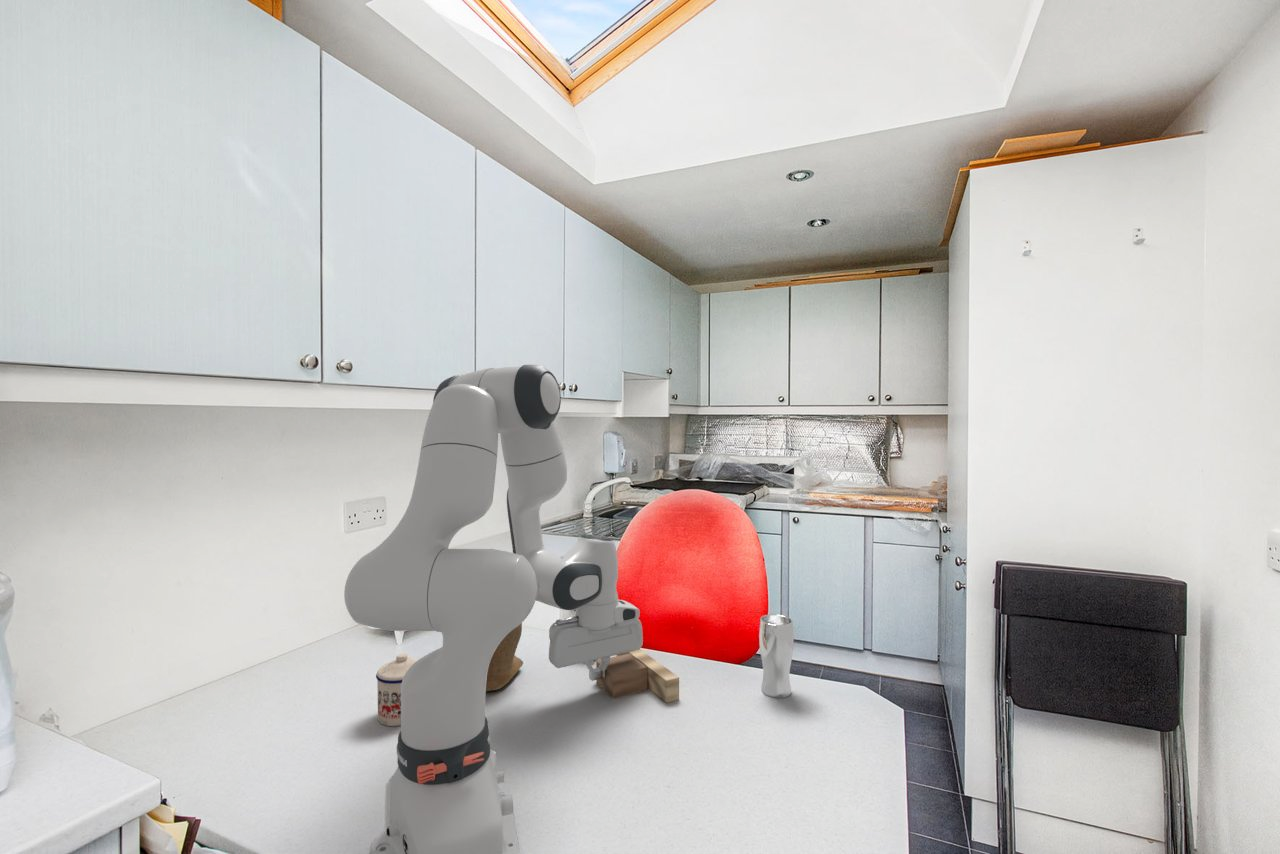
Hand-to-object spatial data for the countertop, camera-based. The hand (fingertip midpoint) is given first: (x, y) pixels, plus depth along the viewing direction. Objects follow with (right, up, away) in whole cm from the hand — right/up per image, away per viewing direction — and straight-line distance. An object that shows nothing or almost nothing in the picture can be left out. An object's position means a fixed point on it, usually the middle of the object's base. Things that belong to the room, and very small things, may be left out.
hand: (597, 678), depth 121 cm
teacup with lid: (-35, -3, -10) cm, 37 cm away
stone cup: (-22, -3, +6) cm, 23 cm away
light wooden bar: (+10, -3, +5) cm, 12 cm away
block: (+5, -3, +3) cm, 6 cm away
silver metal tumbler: (+37, -3, 0) cm, 37 cm away
